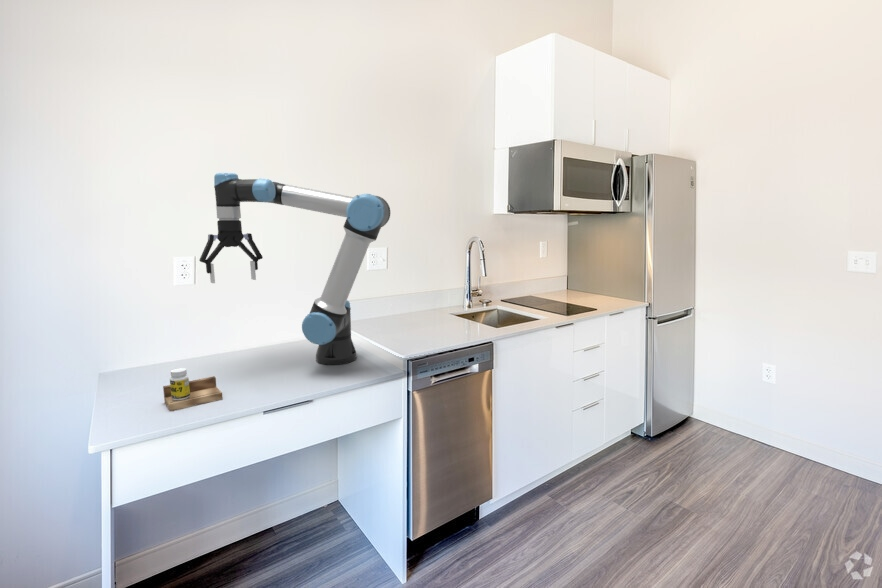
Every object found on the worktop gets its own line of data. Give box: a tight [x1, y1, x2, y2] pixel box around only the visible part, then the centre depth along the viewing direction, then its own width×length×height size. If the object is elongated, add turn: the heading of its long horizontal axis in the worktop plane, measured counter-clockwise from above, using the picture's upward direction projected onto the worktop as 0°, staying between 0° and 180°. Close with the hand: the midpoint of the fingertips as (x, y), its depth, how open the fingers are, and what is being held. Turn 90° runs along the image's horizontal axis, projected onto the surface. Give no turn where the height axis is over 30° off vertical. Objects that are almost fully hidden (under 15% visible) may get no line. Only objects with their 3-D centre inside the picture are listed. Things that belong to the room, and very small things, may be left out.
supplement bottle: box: [169, 367, 190, 400], centre depth 137 cm, size 5×5×8 cm
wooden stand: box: [162, 376, 224, 412], centre depth 141 cm, size 14×8×5 cm, turn 129°
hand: (233, 281), depth 166 cm, fingers open, 13 cm apart
